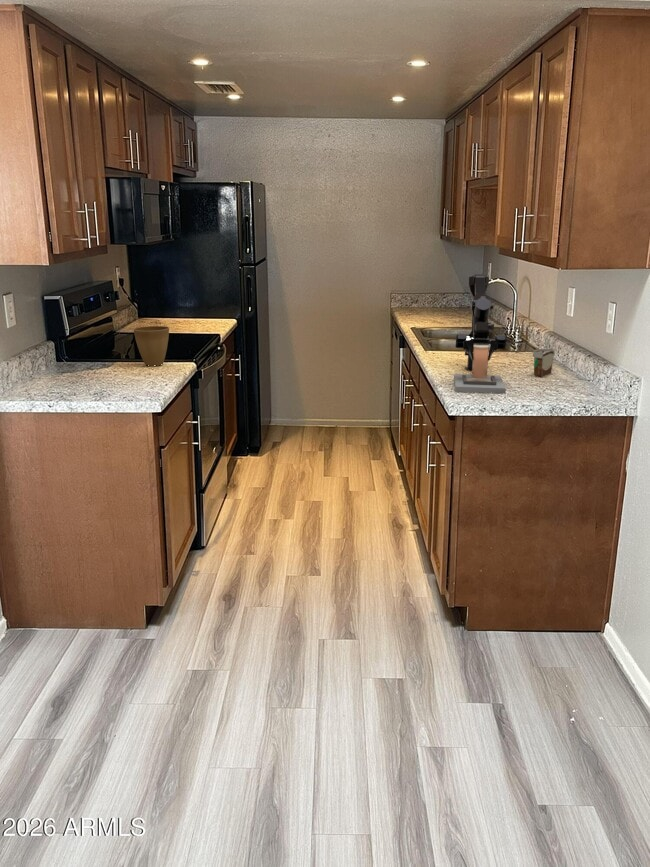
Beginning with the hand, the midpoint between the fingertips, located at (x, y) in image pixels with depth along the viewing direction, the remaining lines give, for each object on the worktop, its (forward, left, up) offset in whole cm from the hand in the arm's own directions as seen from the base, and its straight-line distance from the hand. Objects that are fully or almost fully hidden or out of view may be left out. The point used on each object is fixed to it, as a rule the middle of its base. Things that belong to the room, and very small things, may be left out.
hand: (480, 359), depth 279 cm
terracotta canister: (-1, 0, -7) cm, 7 cm away
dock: (-3, +1, -10) cm, 11 cm away
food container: (-22, +32, -11) cm, 40 cm away
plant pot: (-52, -128, -11) cm, 139 cm away
